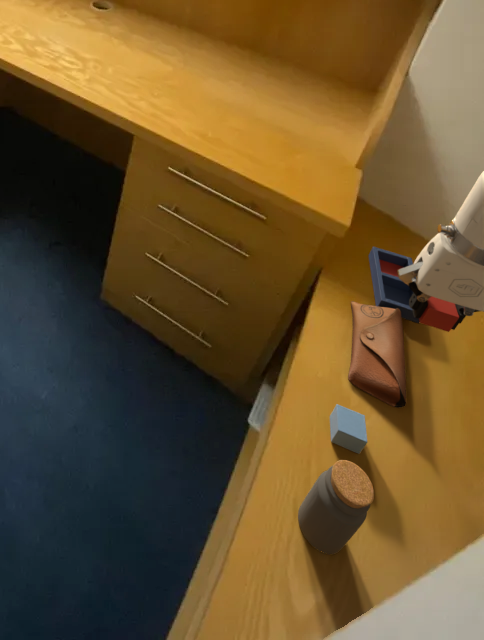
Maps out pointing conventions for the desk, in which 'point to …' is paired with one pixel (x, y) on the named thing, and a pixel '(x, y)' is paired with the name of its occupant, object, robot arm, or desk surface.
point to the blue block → (348, 429)
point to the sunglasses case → (378, 353)
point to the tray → (390, 281)
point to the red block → (439, 314)
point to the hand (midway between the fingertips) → (431, 315)
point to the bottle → (335, 506)
